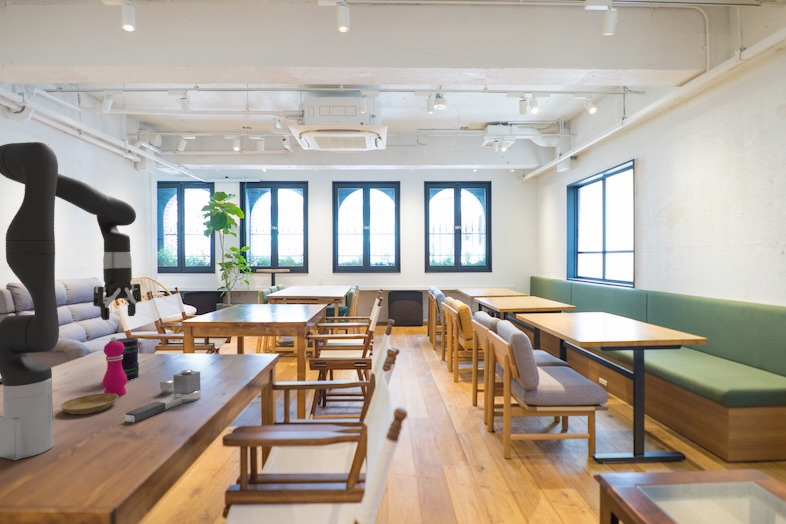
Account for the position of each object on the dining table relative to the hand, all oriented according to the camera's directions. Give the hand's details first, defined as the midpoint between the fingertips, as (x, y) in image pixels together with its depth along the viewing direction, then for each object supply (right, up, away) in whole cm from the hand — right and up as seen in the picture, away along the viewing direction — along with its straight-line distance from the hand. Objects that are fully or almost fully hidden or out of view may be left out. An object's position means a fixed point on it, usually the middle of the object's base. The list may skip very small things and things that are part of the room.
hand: (118, 317), depth 135 cm
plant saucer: (-8, -29, -1) cm, 30 cm away
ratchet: (+16, -28, -1) cm, 32 cm away
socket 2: (+18, -25, +7) cm, 32 cm away
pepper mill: (-9, -28, +12) cm, 32 cm away
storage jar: (-19, -28, +33) cm, 47 cm away
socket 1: (+8, -28, +13) cm, 32 cm away
